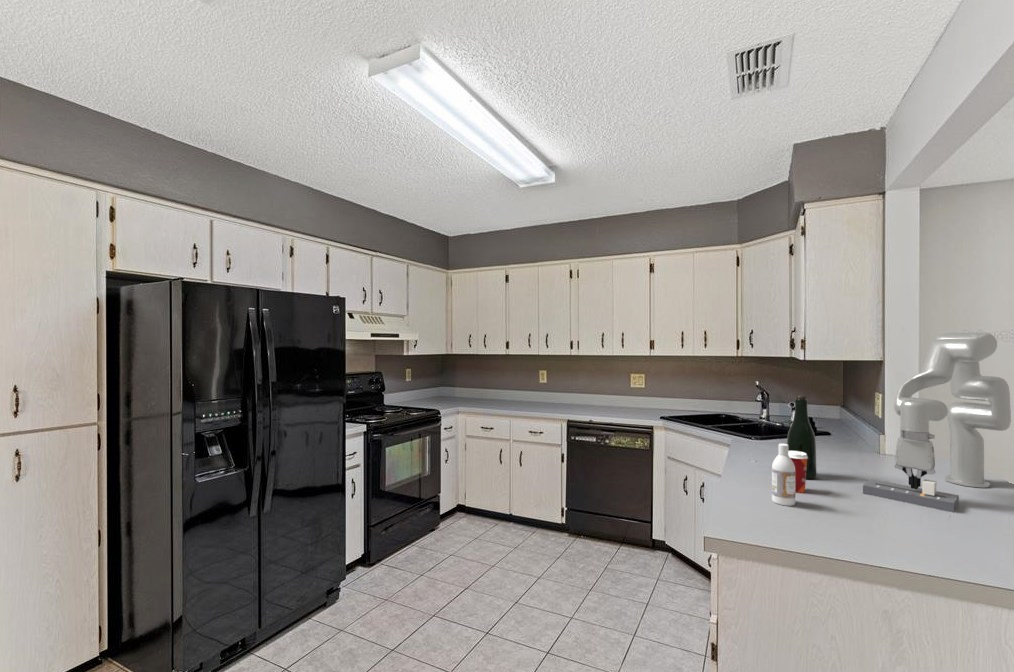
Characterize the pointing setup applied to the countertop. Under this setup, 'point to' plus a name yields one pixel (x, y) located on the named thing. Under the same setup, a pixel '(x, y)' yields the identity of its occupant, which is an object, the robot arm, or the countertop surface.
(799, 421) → the green wine bottle
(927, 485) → the fader knob
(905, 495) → the fader console
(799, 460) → the paper cup
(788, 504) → the bath foam
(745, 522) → the countertop surface
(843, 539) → the countertop surface
